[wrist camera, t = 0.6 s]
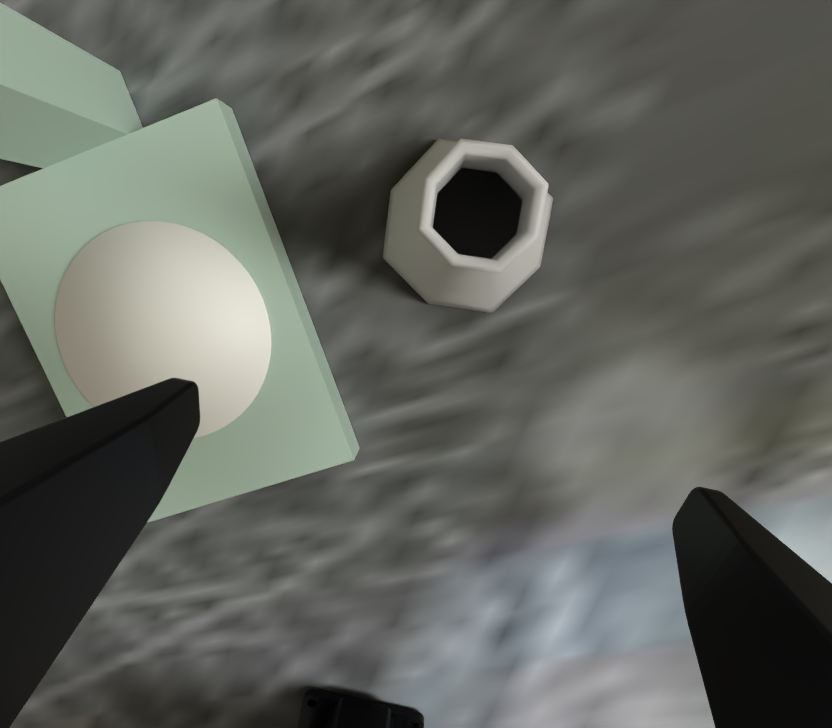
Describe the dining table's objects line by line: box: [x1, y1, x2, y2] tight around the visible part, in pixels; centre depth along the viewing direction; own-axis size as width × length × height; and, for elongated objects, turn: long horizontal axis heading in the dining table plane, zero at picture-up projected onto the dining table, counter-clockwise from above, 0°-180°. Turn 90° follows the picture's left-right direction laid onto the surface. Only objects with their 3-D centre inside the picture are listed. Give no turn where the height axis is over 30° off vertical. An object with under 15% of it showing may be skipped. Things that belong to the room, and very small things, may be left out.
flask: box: [382, 139, 553, 313], centre depth 18 cm, size 7×7×10 cm
